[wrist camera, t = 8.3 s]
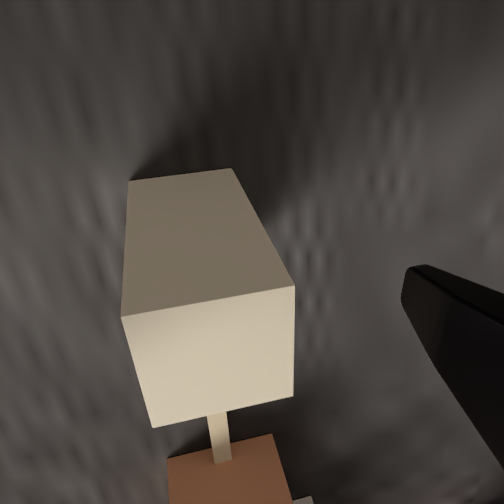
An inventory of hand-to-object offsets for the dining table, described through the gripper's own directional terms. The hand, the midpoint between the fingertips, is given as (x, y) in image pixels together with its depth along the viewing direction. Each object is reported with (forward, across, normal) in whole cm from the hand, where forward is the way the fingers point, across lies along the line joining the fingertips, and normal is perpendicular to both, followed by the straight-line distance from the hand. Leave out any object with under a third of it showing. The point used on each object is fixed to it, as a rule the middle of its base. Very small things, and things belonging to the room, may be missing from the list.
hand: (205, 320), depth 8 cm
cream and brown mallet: (+5, 0, +8) cm, 10 cm away
